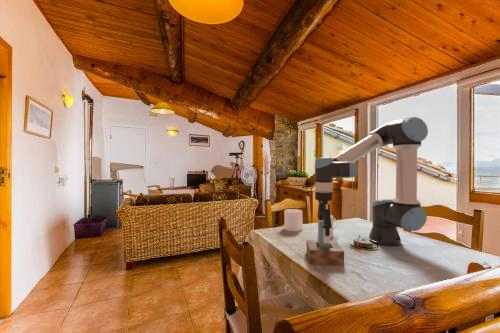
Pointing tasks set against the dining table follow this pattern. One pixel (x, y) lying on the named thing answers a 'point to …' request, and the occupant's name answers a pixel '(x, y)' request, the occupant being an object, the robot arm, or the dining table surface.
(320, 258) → the socket
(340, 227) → the dining table surface
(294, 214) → the cup
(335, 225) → the mug
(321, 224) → the peg
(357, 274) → the dining table surface
